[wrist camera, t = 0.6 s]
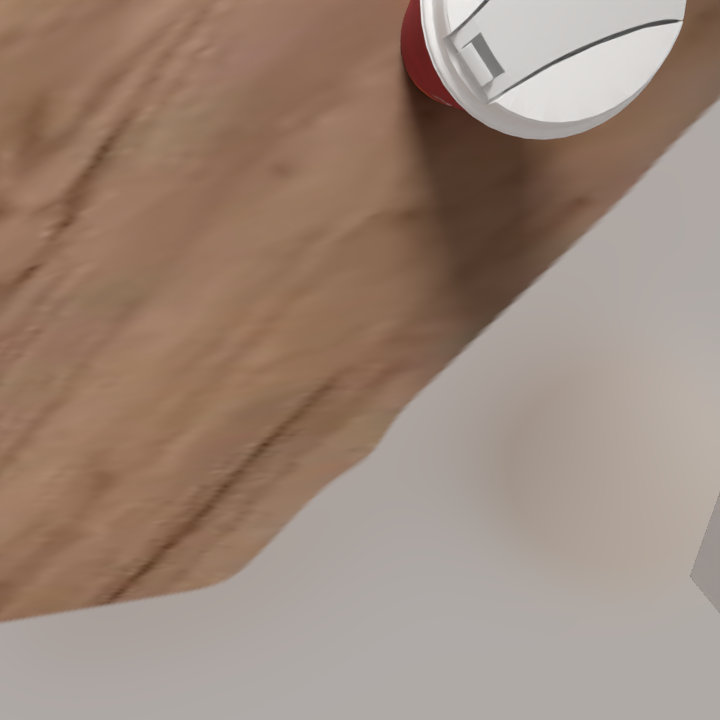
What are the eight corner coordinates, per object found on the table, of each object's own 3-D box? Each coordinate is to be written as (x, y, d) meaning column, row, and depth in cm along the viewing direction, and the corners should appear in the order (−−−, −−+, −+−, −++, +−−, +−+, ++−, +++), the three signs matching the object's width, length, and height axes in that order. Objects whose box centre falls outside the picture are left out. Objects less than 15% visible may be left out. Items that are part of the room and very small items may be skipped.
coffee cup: (439, 162, 35) (526, 196, 21) (342, 22, 33) (369, -45, 19) (575, 56, 34) (763, 18, 20) (485, -99, 31) (629, -268, 17)
